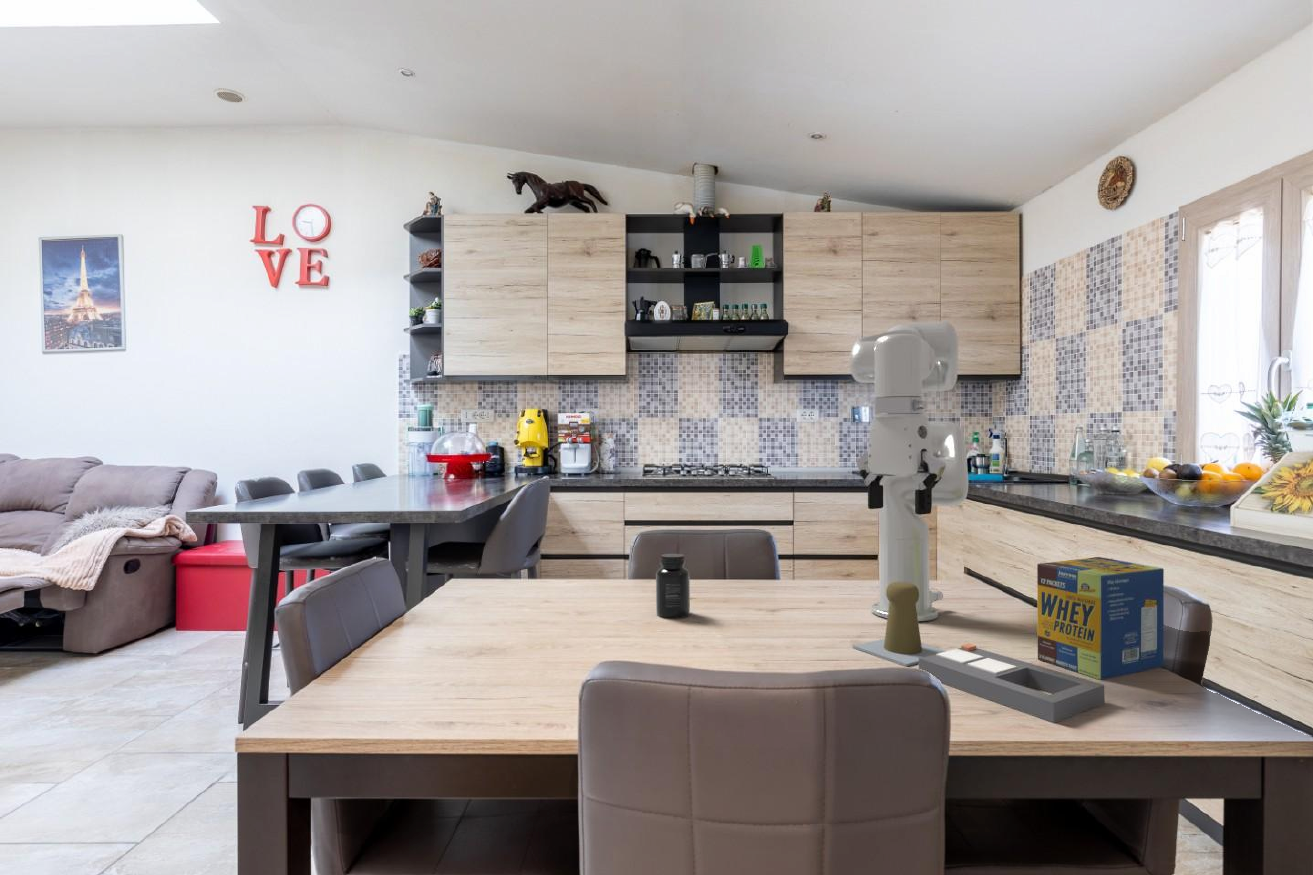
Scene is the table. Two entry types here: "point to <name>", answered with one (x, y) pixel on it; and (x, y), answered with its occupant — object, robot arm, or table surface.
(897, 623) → the cork
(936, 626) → the table surface
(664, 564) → the supplement bottle
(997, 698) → the grey compartment tray
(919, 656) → the slate mat
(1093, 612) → the protein box
